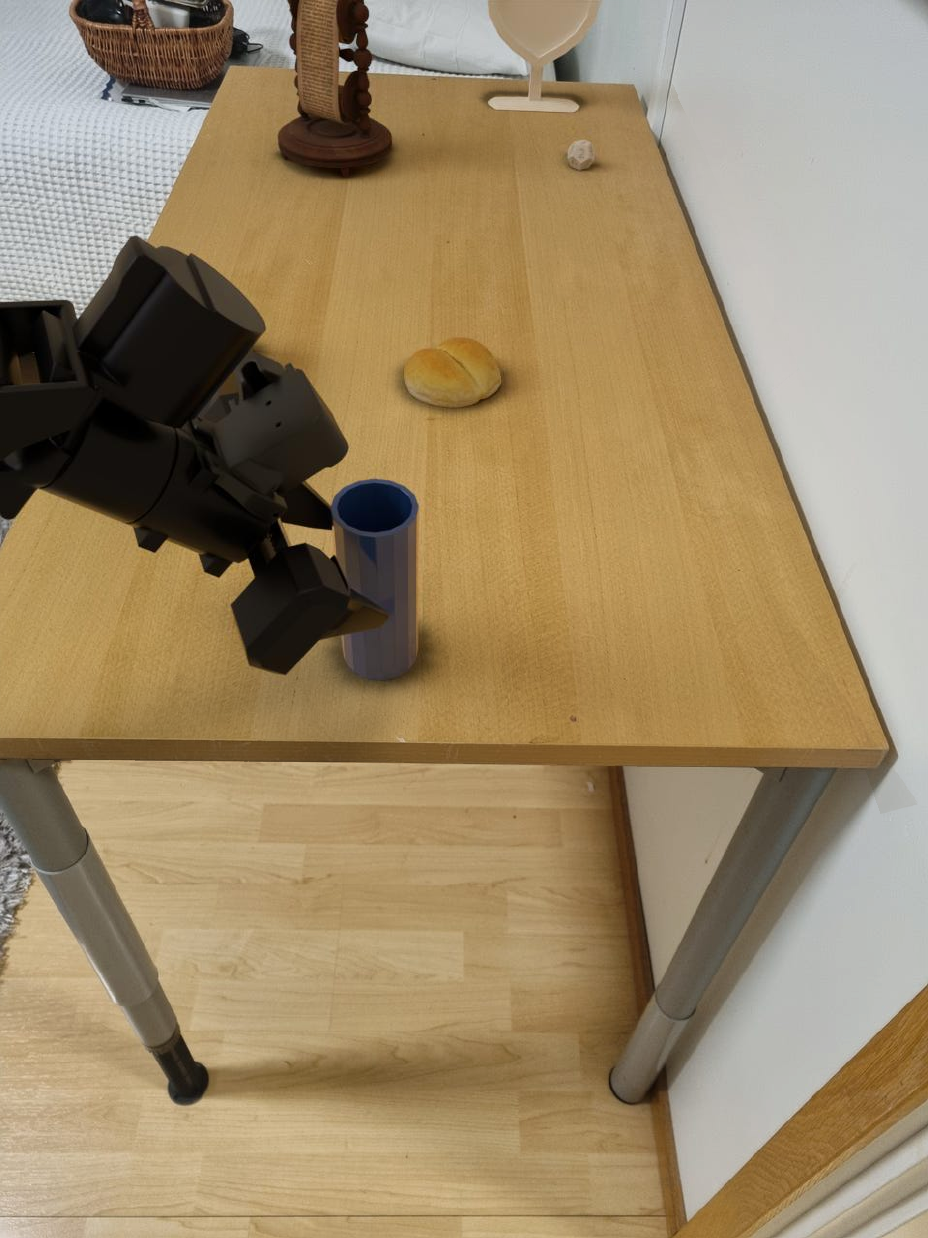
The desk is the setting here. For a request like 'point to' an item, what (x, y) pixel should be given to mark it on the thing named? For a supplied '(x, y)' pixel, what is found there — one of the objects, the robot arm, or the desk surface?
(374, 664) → the cup
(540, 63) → the heart sculpture
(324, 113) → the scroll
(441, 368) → the bread roll
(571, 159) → the game die
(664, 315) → the desk surface
